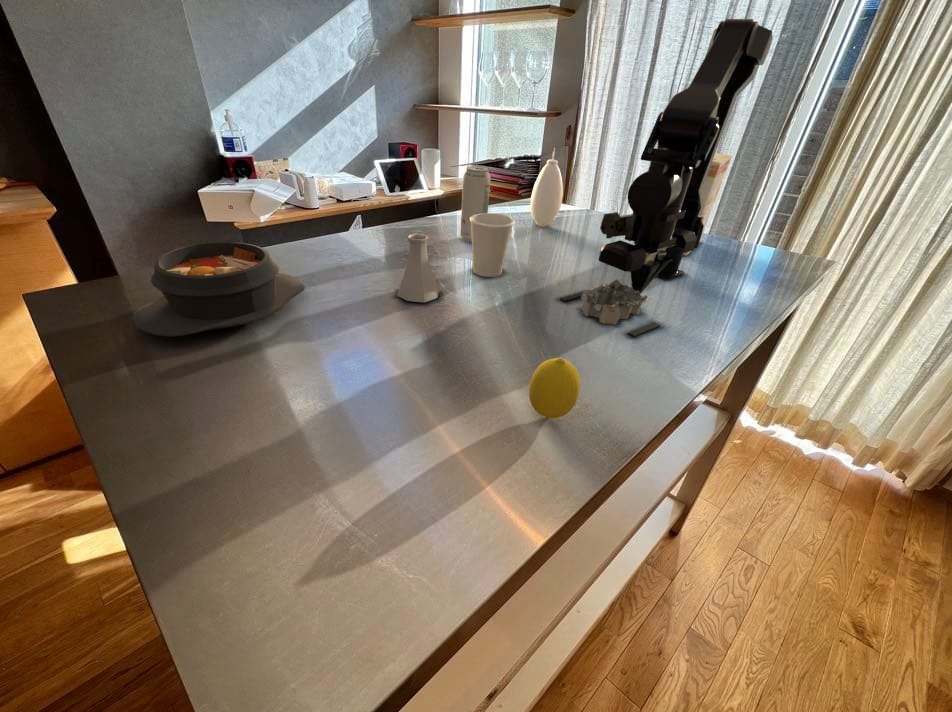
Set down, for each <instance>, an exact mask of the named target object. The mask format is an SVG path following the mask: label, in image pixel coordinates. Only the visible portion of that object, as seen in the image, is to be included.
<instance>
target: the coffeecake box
mask: <svg viewBox="0 0 952 712" xmlns="http://www.w3.org/2000/svg"><path fill="white" fill-rule="evenodd" d="M732 158H733V155H730V154H724V153H723V154H722V153H717V152H716V153H715V155H714V158H713V161H712V163H711V166H710V169H709V171H708V174H707V177H706V180H705V182H704V185H703V188H702V196H703V201H704V210H703V212H702V215H701V216H702V217H704V218H703V224H704V228H703V232H702V236H701V239H700V242H702V238H703V236H704V232H705V230H706V227H707V224H708V221H709V219H710V216H711V214H712V211H713V208H714V205H715V204H716V200H717V198H718V195H719V193H720V189H721V186H722V184H723V181H724V179H725V176H726V173H727V171H728V168H729V165H730V162H731V160H732ZM691 252H692V251H689V252H686V253H684V255H683V256H685V257H686V256H688V255H689V254H690V253H691Z"/></svg>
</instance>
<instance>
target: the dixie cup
mask: <svg viewBox="0 0 952 712" xmlns="http://www.w3.org/2000/svg"><path fill="white" fill-rule="evenodd" d="M470 221H471V233H472V242H471V251H472V268H473V269H472V271H473V273H474V274H475V275H478V276H479V277H486V278H494V277H499V276H500V275H501V274H502V272H503V269H504V264H505V260H506V255H507V251H508V247H509V244H510V238H511V234H512V230H513V228H514V227H513V226H514V225H515V220H514V218H512V217H510V216H508V215H506V214H505V215H504V214H500V213H489V212H488V213H482V214H476V215H473V216H472V217H471V218H470Z"/></svg>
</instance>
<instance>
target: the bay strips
mask: <svg viewBox="0 0 952 712" xmlns="http://www.w3.org/2000/svg"><path fill="white" fill-rule="evenodd" d="M584 291H585V290H583V291H580V292H577V293H572V294H570V295H565V296H563V297H560V298H559V300H560V301H561V302H563V303H566V302H571V301H574V300H577V299H581V296H582V294H583V292H584ZM658 328H661V324H659V323H657V322H651V323H648V324H646V325H644V326H641V327H638V328H637V329H633V330H631V331H628V332H627V335H628V336H631V337H633V338H635V337H638V336H640V335H644V334H646V333H648V332H651V331H653V330H655V329H658Z"/></svg>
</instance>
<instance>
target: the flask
mask: <svg viewBox="0 0 952 712" xmlns="http://www.w3.org/2000/svg"><path fill="white" fill-rule="evenodd" d="M407 239H408V240H407V241H408V242H409V252H408V253H409V255H408V259H407V264H406V266H405V269H404V273H403V277H402V278H401V282H400V285H399V288H398V291H397V294H396V296H397V297H398V298H401V299H403V300H405V301H407V302H415V303H424V304H425V303H427V302H431V301H433V300H435V299H438V296H439V294H440V289H439V286H438V284H437V281H436V279H435V275H434V273H433V271H432V270H433V269H432V267H431V263H430V261H429V256H428V251H427V243H428V240H429V236H428V235H426V234H422V233H413V234H409V235H408V237H407Z"/></svg>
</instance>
